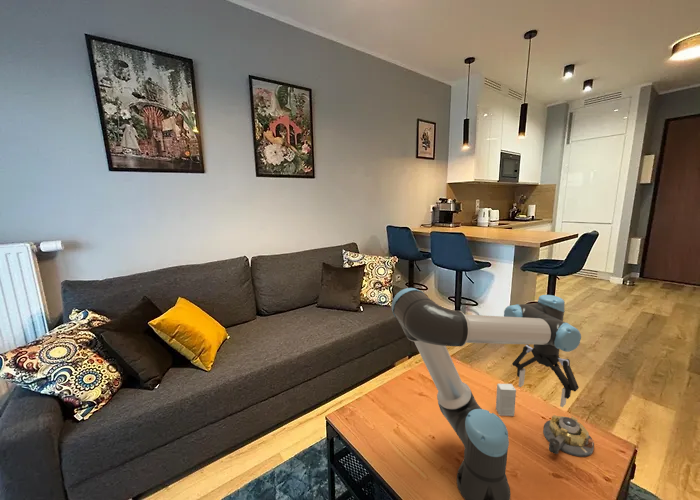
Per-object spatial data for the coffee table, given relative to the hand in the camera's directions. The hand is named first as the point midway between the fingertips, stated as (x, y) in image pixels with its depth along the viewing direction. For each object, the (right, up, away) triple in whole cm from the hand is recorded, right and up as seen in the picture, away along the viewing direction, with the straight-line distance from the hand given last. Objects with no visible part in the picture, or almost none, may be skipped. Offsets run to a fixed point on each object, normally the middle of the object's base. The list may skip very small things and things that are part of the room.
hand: (540, 394), depth 108 cm
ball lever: (+8, -16, 0) cm, 18 cm away
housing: (+12, -18, +3) cm, 22 cm away
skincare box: (-4, -16, +18) cm, 24 cm away
